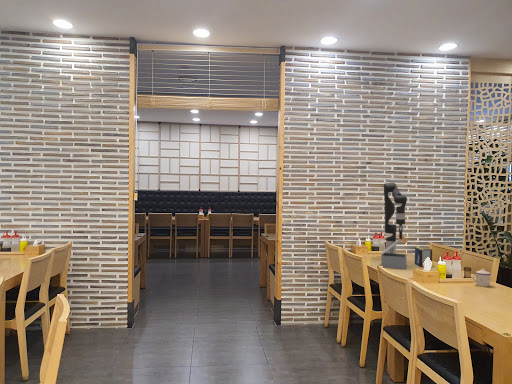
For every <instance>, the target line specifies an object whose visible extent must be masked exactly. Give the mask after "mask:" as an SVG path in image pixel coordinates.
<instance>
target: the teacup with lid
mask: <svg viewBox="0 0 512 384" xmlns="http://www.w3.org/2000/svg"><path fill="white" fill-rule="evenodd" d="M471 279H472V281H474V282H475V285H476V286H479V287H490V286H491V272H489V271H487V270H485V268H481V269H480V270H479V269H478V270H477V271H475V274H473V275H472V277H471Z"/></svg>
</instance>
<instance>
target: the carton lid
mask: <svg viewBox="0 0 512 384" xmlns="http://www.w3.org/2000/svg"><path fill="white" fill-rule="evenodd" d="M397 237H398V240H396V242H395V243H394V244H392V245H391V246H389V247H388V248H387V249H386V248H385V249H383V251H381V254H380V256H382V255H383V254H384V253H386V252H387V251H388V250H390V249H391V248H393V247H394V246H395V245H396V246H397V245H398V244H400V243H401V242H402V243H403V244H406V243H408V240H407V238H406V237H405V236H404V235H403V234H402V239H399V234H398V235H397Z"/></svg>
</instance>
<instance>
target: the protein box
mask: <svg viewBox="0 0 512 384" xmlns="http://www.w3.org/2000/svg"><path fill="white" fill-rule="evenodd" d="M427 257H429V258H430V260H431V261H432V262H433V249H432V248H429V247H426V246H425V247H424V246H415V247H414V265H416V266H417V267H418V268H419V267H420V268H424V267H423V263H424V261H425V259H426V258H427Z"/></svg>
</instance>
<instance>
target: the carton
mask: <svg viewBox="0 0 512 384" xmlns="http://www.w3.org/2000/svg"><path fill="white" fill-rule="evenodd" d="M407 255H408V254H406V253H405V254H404V253H396V254H395V253H384V254H383V255H381V256H380V257H381V258H380V259H381V261H380V262H381V263H380V264H381V265H380V266H383V267H384V269H385V268H386V269H399V270H407V262H408V261H407V258H408V257H407ZM383 267H382V268H383Z"/></svg>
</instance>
